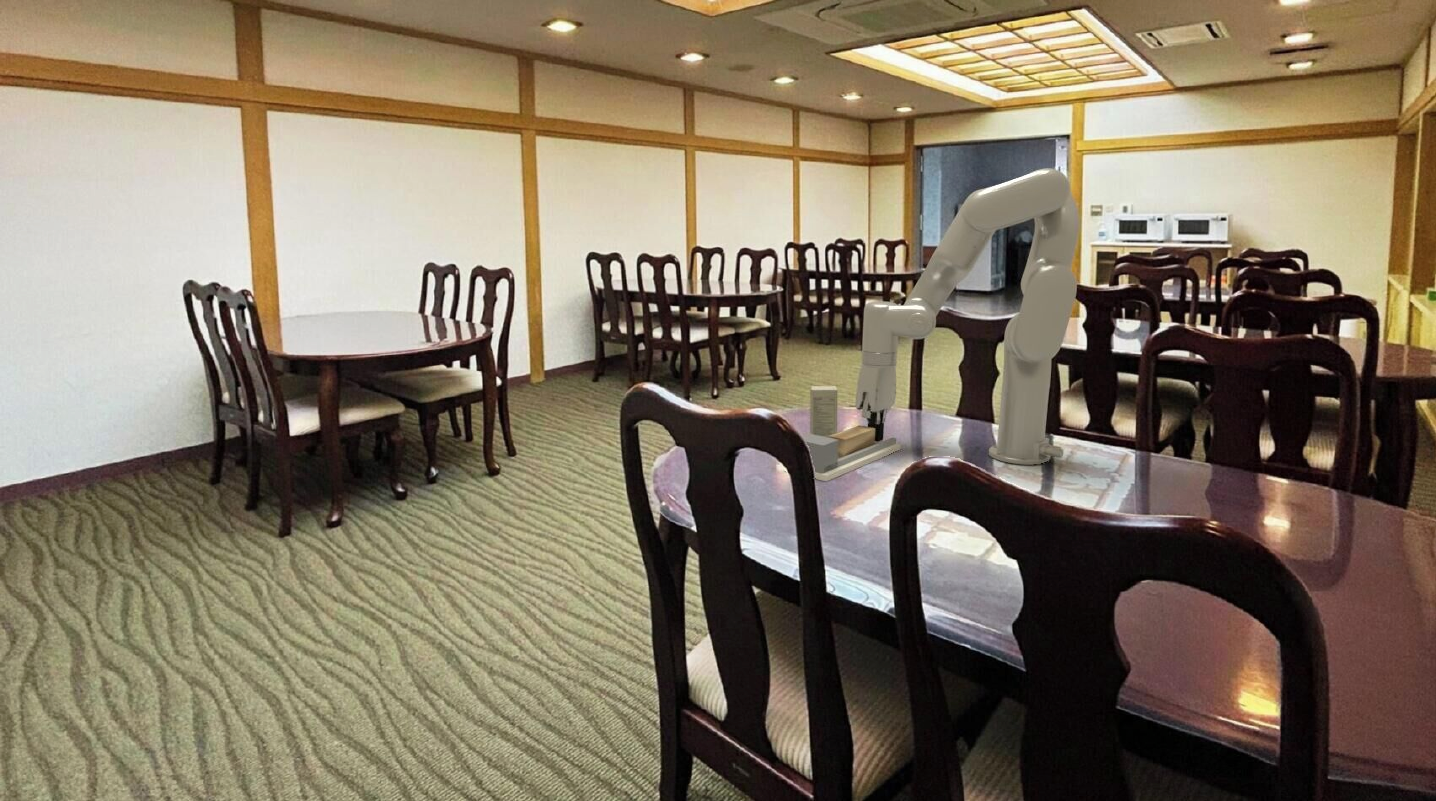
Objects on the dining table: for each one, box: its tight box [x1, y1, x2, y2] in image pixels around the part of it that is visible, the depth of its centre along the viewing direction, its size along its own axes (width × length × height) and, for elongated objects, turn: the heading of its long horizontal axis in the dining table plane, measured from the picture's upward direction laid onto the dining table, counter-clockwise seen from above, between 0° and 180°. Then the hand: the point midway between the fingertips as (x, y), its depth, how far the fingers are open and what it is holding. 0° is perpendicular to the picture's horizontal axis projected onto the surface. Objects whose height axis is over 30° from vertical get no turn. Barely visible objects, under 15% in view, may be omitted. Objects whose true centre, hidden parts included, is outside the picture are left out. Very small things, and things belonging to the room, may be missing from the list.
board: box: [802, 432, 902, 482], centre depth 181 cm, size 10×30×7 cm, turn 140°
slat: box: [829, 425, 875, 459], centre depth 183 cm, size 4×12×4 cm, turn 140°
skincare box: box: [809, 385, 839, 438], centre depth 197 cm, size 6×4×12 cm
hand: (875, 439), depth 191 cm, fingers closed
